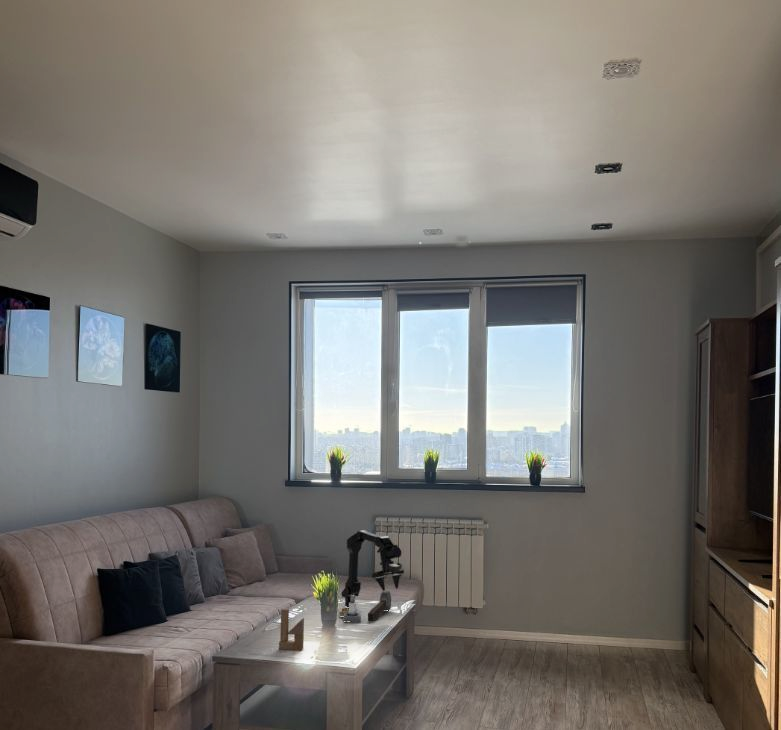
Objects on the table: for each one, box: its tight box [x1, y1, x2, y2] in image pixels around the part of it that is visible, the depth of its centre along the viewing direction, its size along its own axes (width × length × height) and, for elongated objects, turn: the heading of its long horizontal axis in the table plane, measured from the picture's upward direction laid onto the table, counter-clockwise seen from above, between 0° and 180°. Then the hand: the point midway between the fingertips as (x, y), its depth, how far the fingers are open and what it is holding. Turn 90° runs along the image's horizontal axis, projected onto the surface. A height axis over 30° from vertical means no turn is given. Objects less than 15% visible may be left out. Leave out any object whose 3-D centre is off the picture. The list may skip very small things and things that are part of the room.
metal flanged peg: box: [349, 595, 357, 616], centre depth 422 cm, size 4×4×13 cm
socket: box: [343, 612, 362, 623], centre depth 422 cm, size 9×9×3 cm
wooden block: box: [278, 607, 305, 652], centre depth 366 cm, size 4×11×18 cm, turn 80°
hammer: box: [367, 589, 392, 622], centre depth 433 cm, size 5×11×30 cm
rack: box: [339, 608, 349, 617], centre depth 432 cm, size 8×8×3 cm
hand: (390, 589), depth 427 cm, fingers open, 9 cm apart
